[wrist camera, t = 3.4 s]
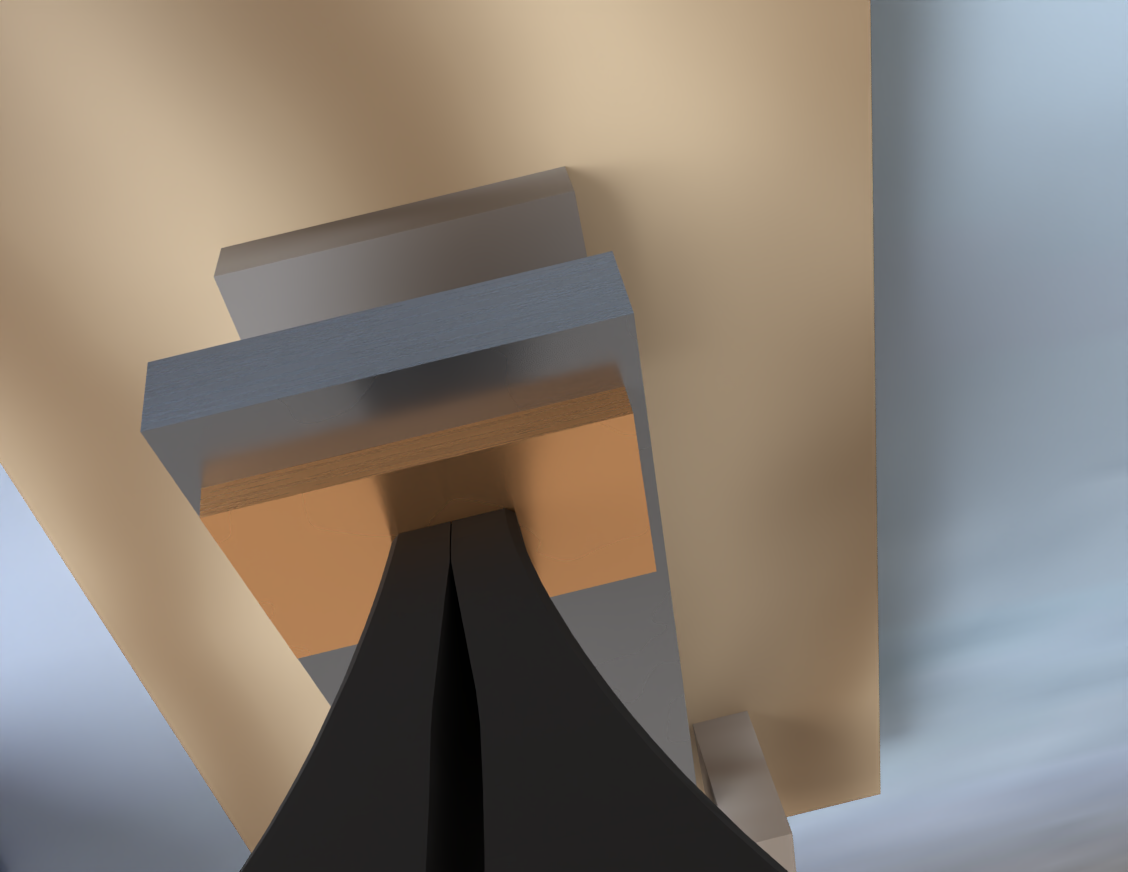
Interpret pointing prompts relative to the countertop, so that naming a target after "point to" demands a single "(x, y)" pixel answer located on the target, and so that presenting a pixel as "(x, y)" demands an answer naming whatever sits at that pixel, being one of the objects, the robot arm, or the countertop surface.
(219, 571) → the latch board
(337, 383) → the latch bar
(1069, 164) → the countertop surface
